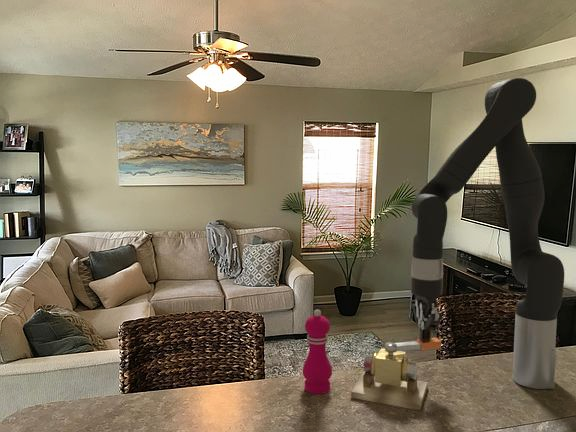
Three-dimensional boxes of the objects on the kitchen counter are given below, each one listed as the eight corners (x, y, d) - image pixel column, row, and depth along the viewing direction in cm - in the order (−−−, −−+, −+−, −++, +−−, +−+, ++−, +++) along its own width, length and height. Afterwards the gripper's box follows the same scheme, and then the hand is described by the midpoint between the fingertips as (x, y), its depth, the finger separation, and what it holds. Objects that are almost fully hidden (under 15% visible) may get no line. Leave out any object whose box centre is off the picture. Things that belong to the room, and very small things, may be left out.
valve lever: (441, 348, 121) (441, 341, 120) (387, 353, 118) (387, 346, 117) (435, 344, 123) (435, 337, 123) (382, 349, 120) (383, 342, 120)
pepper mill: (332, 382, 126) (332, 305, 124) (331, 395, 119) (332, 314, 117) (303, 381, 127) (303, 305, 125) (301, 394, 120) (301, 313, 117)
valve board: (427, 387, 123) (427, 370, 122) (420, 410, 112) (420, 391, 111) (363, 377, 129) (363, 360, 129) (351, 397, 118) (351, 379, 118)
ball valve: (417, 377, 121) (418, 350, 120) (413, 388, 115) (414, 360, 114) (368, 369, 125) (369, 343, 125) (362, 380, 119) (362, 353, 119)
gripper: (454, 281, 117) (451, 352, 119) (429, 268, 130) (427, 332, 132) (424, 282, 115) (422, 354, 117) (401, 269, 128) (400, 334, 130)
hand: (424, 342), depth 125 cm, fingers closed
